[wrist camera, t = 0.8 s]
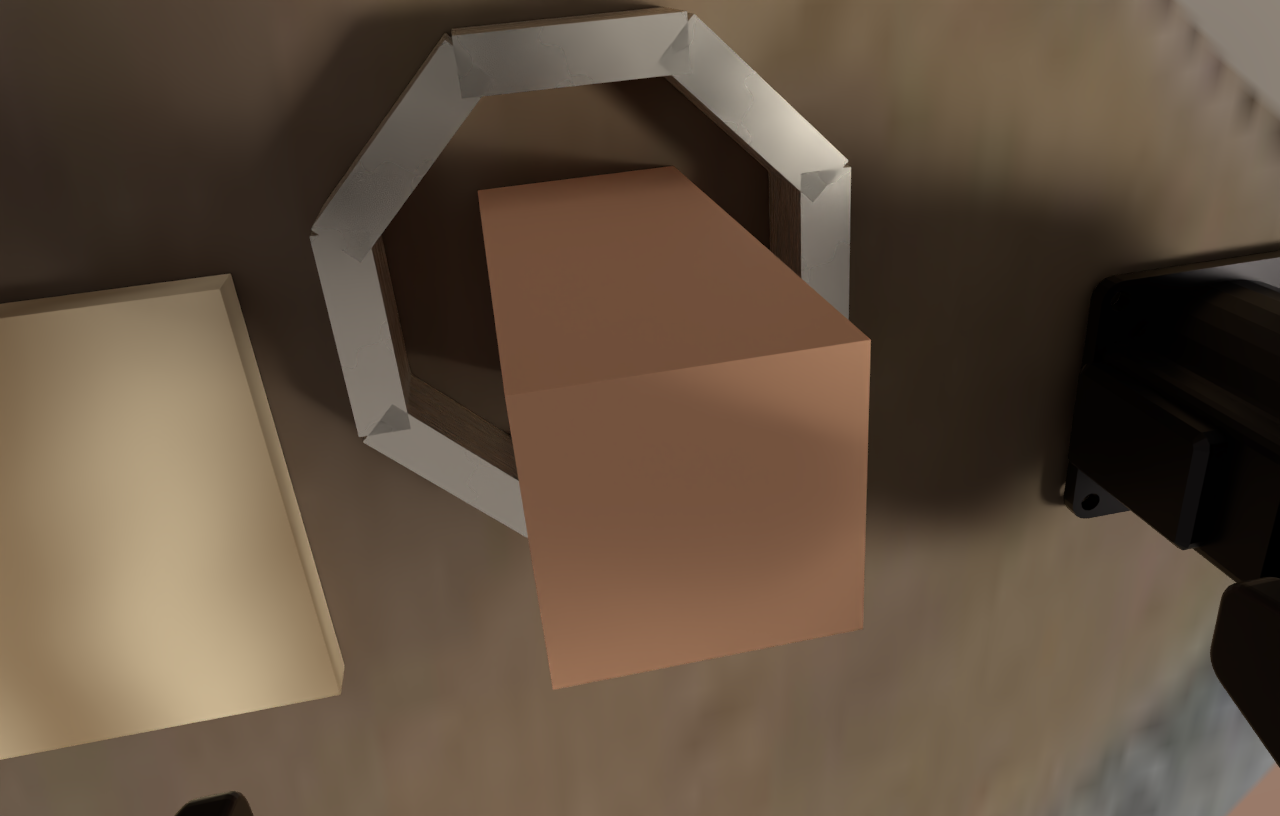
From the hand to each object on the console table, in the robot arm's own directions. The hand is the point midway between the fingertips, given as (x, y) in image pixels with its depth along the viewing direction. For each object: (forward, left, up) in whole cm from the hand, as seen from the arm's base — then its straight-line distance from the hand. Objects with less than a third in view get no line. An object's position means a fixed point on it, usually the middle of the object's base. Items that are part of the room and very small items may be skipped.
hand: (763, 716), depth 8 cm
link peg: (0, 0, -13) cm, 13 cm away
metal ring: (0, 0, -13) cm, 13 cm away
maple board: (+12, +4, -13) cm, 18 cm away
